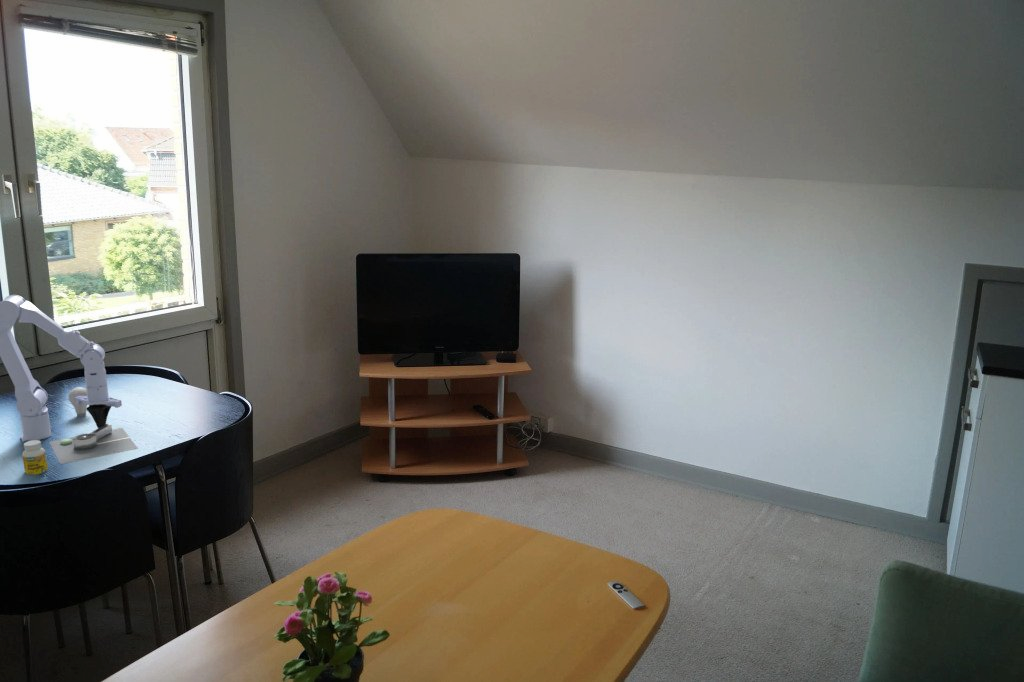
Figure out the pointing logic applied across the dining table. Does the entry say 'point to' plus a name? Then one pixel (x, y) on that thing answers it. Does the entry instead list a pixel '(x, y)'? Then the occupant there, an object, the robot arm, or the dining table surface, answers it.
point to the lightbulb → (73, 394)
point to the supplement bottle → (34, 458)
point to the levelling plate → (105, 446)
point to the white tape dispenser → (91, 438)
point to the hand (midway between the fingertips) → (101, 427)
